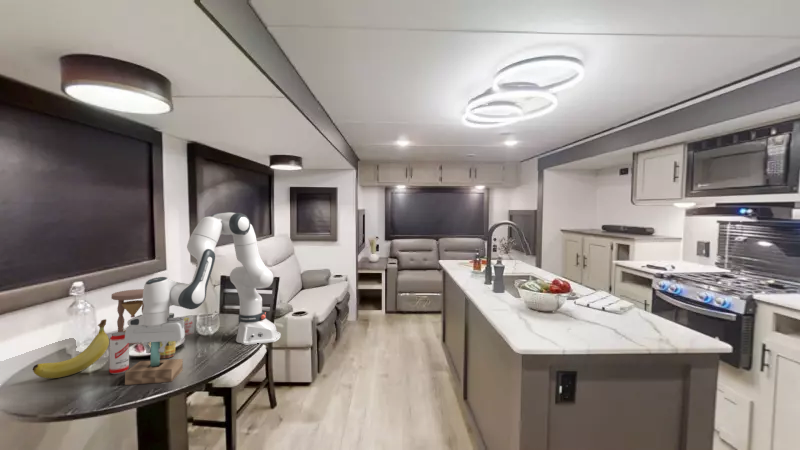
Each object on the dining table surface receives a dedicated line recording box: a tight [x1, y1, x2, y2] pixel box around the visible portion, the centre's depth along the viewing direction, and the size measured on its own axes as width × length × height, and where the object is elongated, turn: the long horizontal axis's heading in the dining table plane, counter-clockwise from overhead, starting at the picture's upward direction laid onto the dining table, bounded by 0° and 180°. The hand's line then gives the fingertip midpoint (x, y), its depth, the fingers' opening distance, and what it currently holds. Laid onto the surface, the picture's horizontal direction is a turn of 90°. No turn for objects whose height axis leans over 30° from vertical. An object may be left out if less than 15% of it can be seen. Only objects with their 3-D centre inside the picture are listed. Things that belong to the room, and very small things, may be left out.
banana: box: [32, 318, 110, 379], centre depth 136 cm, size 23×6×20 cm, turn 147°
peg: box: [149, 342, 161, 367], centre depth 134 cm, size 3×3×10 cm
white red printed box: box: [180, 314, 194, 336], centre depth 185 cm, size 4×7×10 cm, turn 148°
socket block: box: [124, 358, 184, 386], centre depth 134 cm, size 16×10×5 cm, turn 102°
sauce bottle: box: [160, 312, 177, 360], centre depth 155 cm, size 7×6×20 cm
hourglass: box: [111, 288, 144, 346], centre depth 176 cm, size 18×18×25 cm
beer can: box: [108, 331, 130, 375], centre depth 139 cm, size 6×6×16 cm
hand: (155, 352), depth 134 cm, fingers closed on peg, 3 cm apart
